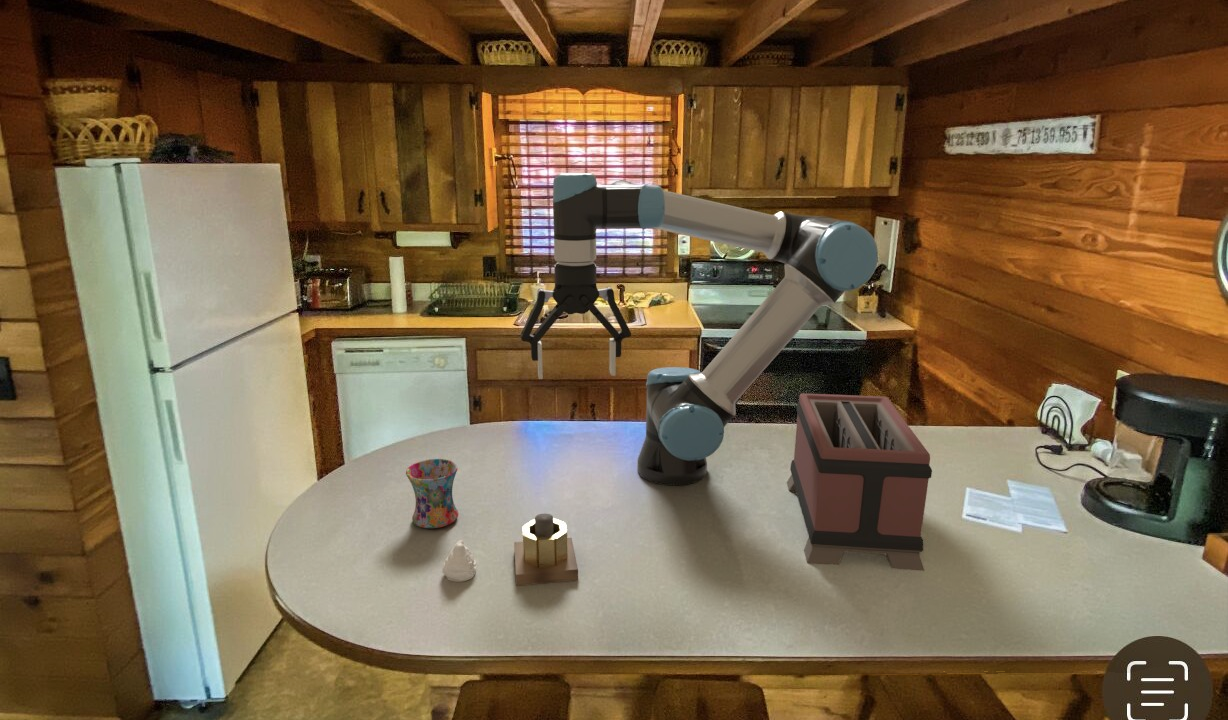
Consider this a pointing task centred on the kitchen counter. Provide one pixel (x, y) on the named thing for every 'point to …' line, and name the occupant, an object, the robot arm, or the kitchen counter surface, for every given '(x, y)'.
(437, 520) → the mug
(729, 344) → the robot arm
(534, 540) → the ring
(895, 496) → the toaster
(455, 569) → the garlic bulb
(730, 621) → the kitchen counter surface
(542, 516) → the shaft block
